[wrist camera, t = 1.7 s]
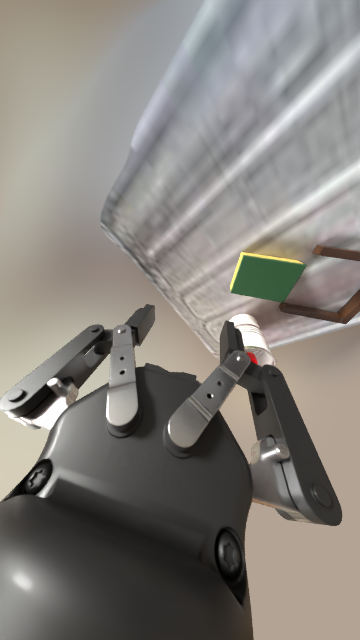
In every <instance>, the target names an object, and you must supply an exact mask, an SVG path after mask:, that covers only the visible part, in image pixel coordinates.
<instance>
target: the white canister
mask: <svg viewBox="0 0 360 640" xmlns="http://www.w3.org/2000/svg"><path fill="white" fill-rule="evenodd" d="M230 321H231V322H234V325H235V328H239V330H240V331H241V333H242V338H243V343H244V348H245V353H246V354H247V355H248V356H249V357H250V359H251V361H252V362H254V363H255V364H258V365H260V366H262V367H263V365H266V364H269V365H272V366H274V367H275V366H276V359H275V357H274V356H273V355H272V354H271V351H270V349H269V347H268V345H267V342H266V340H265V337H264V335H263V333H262V331H261V329H260V327H259V325H258V323H257V321H256V319H255V318H254V317H252V316H250V315H247V314H241V315H237V316H234V317H233V318H232V319H231V320H230Z"/></svg>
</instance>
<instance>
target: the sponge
mask: <svg viewBox="0 0 360 640" xmlns="http://www.w3.org/2000/svg"><path fill="white" fill-rule="evenodd" d="M305 268H306V265H305V264H303V263H301V262H299V261H298V260H291V259H284V258H278V257H271V256H264V255H258V254H251V253H244V252H241V255H240V258H239V261H238V264H237V267H236V270H235V273H234V276H233V279H232V282H231V285H230V289H231V293H234V294H239V295H245V296H250V297H256V298H261V299H267V300H272V301H277V302H284V301H285V299H286V298H287V296H288V295H289V293H290V291H291V290H292V288H293V287H294V285H295V284H296V282H297V280H298V279H299V277H300V276H301V274H302V272H303V271H304V269H305Z"/></svg>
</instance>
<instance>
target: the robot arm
mask: <svg viewBox="0 0 360 640" xmlns="http://www.w3.org/2000/svg"><path fill="white" fill-rule="evenodd" d="M154 321H155V306H154V305H149V304H146V306H145V307H144V308H140V309H138V310H137V311H136V312H135V313H134V314H133V315H132V316H131V317H130V318H129V320H128V321H127V322H126V323H125V324H124V325H119V326H117V327H115V328H114V329H113V330H104V327H103V326H102V325H92V326H89V327H88V328H86V329H85V330H84V331H83V332H81V333H80V334H79V335H78V336H77V337H75V338H74V339H73V340H71V341H70V342H69V343H68V344H67V345H65V346H64V347H63V348H61V349H60V350H59V351H58V352H56V353H55V354H54V355H53V356H51V357H50V358H49V359H47V361H45V362H44V363H43V364H41V365H40V366H39V367H37V368H36V369H35V370H34V371H32V372H31V373H30V374H29V375H27V376H26V377H25V378H24V379H23V380H21V381H20V382H19V383H17V384H16V385H15V386H14V387H12V388H11V389H10V390H9V391H7V392H6V393H5V394H4V395H3V396H2V397H1V399H0V410H1V411H3V412H4V413H6V414H8V415H9V417H10V418H12V419H14V420H16V421H17V422H19V423H21V424H23V425H26V426H28V427H30V428H32V429H40V428H44V429H46V430H49V431H50V433H49V436H48V439H47V442H46V444H45V447H44V449H43V451H42V453H41V455H40V457H39V459H38V461H37V462H36V464H35V465H34V467H33V468H32V469H31V471H30V472H29V473H28V474H27V475H26V476H25V477H24V479H23V480H22V481H21V482H20V483H19V484H18V485H17V486H16V487H15V488H14V489H13V490H12V491H11V492H10V493H9V494H8V495H7V496H6V497H5V498H4V499H3V500H2V501H1V502H0V640H253V627H252V616H251V605H250V596H249V587H248V579H247V570H246V563H245V543H244V542H245V529H246V522H247V516H248V513H249V509H250V506H251V503H252V502H255V503H259V504H262V505H266V506H269V507H272V508H275V509H276V511H277V512H278V513H279V514H280V515H281V516H282V517H283V518H285V519H287V520H292V521H300V522H308V523H315V524H323V525H330V526H337V525H339V524H340V523H341V521H342V510H341V506H340V503H339V501H338V498H337V496H336V494H335V492H334V489H333V487H332V485H331V483H330V480H329V478H328V476H327V474H326V471H325V469H324V467H323V465H322V462H321V460H320V458H319V456H318V453H317V451H316V449H315V446H314V444H313V442H312V440H311V437H310V435H309V433H308V431H307V428H306V426H305V424H304V422H303V419H302V417H301V415H300V413H299V410H298V408H297V406H296V404H295V401H294V399H293V397H292V395H291V392H290V390H289V388H288V386H287V383H286V381H285V379H284V376H283V374H282V373H281V371H280V370H279V369H277V368H276V367H274V366H272V365H269V364H266V365H263V367H262V366H260V365H258V364H255V363H254V362H252V361H251V359H250V357H249V356H248V355H247V354H246V353H245V348H244V343H243V338H242V333H241V331H240V330H239V328H235V325H234V322H231V321H225V323H224V326H223V329H222V331H221V334H220V365H219V366H218V367H217V368H216V369H215V370H214V371H213V372H212V374H211V375H210V376H209V377H208V378H207V379H206V380H205V381H204V382H203V383H202V384H201V383H200V382H199V381H197V380H196V375H191V374H188V373H184V372H182V373H181V372H180V373H179V372H168V371H167V370H165V369H163V368H161V367H159V366H156V365H153V364H149V363H146V364H145V366H144V367H137V368H136V362H135V353H134V347H135V346H136V345H137V346H140V345H141V344H142V342H143V340H144V338H145V337H146V335H147V334H148V332H149V330H150V328H151V327H152V325H153V324H154ZM91 348H92V349H91ZM90 349H91V350H90ZM89 350H90V351H89ZM88 351H89V352H88ZM87 352H88V353H87ZM86 353H87V354H86ZM85 354H86V355H85ZM108 354H111V356H110V375H109V382H108V383H107V384H105V385H103V386H101V387H100V388H98V389H97V390H95V391H93V392H91V393H90V394H88V395H86V396H84V397H82V398H81V399H79V400H77V401H76V398H77V396H78V389H79V388H80V387H81V386H82V385H83V384H84V382H85V381H86V380H87V379H88V378H89V377H90V375H91V374H92V373H93V372H94V371H95V370H96V368H97V367H98V366H99V365H100V364H101V362H102V361H103V360H104V359H105V358H106V357H107V355H108ZM236 384H238V385H240V386H242V387H244V388H246V389H247V390H248V395H249V400H250V405H251V410H252V415H253V420H254V425H255V430H256V435H257V439H258V442H256V443H254V445H253V447H252V460H251V463H250V464H248V461H247V459H246V457H245V455H244V453H243V451H242V450H241V448H240V446H239V444H238V443H237V441H236V439H235V437H234V436H233V434H232V432H231V430H230V428H229V427H228V425H227V423H226V422H225V420H224V418H223V416H222V414H221V413H220V411H219V409H220V407H221V406H222V404H223V403H224V401H225V400H226V398H227V397H228V396H229V394H230V393H231V391H232V390H233V388H234V387H235V385H236ZM75 401H76V402H75Z"/></svg>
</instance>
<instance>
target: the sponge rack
mask: <svg viewBox="0 0 360 640" xmlns="http://www.w3.org/2000/svg"><path fill="white" fill-rule="evenodd" d="M313 253H314V254H317V255H321V256H328V257H335V258H342V259H349V260H356V261H360V251H357V250H349V249H342V248H335V247H327V246H320V245H317V246H316V248H315V250H314V251H313ZM279 308H280V310H281V311H282V312H285V313H290V314H295V315H300V316H305V317H311V318H316V319H321V320H326V321H332V322H337V323H342V324H347V323H348V322H349V321H350V320H351V319H352V318H353V317H354V316H355V315H356V314H357V313H358V312H359V311H360V290H359V291H358V292H357V293H356V294H355V295H354V296H353V297H352V298H351V299H350V300H349V301H348V302H347V303H346V305H345V306H344V307H343V308H342V309H341V310H340V311H339V312H338V313H335V312H329V311H324V310H318V309H313V308H308V307H302V306H297V305H291V304H286V303H281V304H280V306H279Z"/></svg>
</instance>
